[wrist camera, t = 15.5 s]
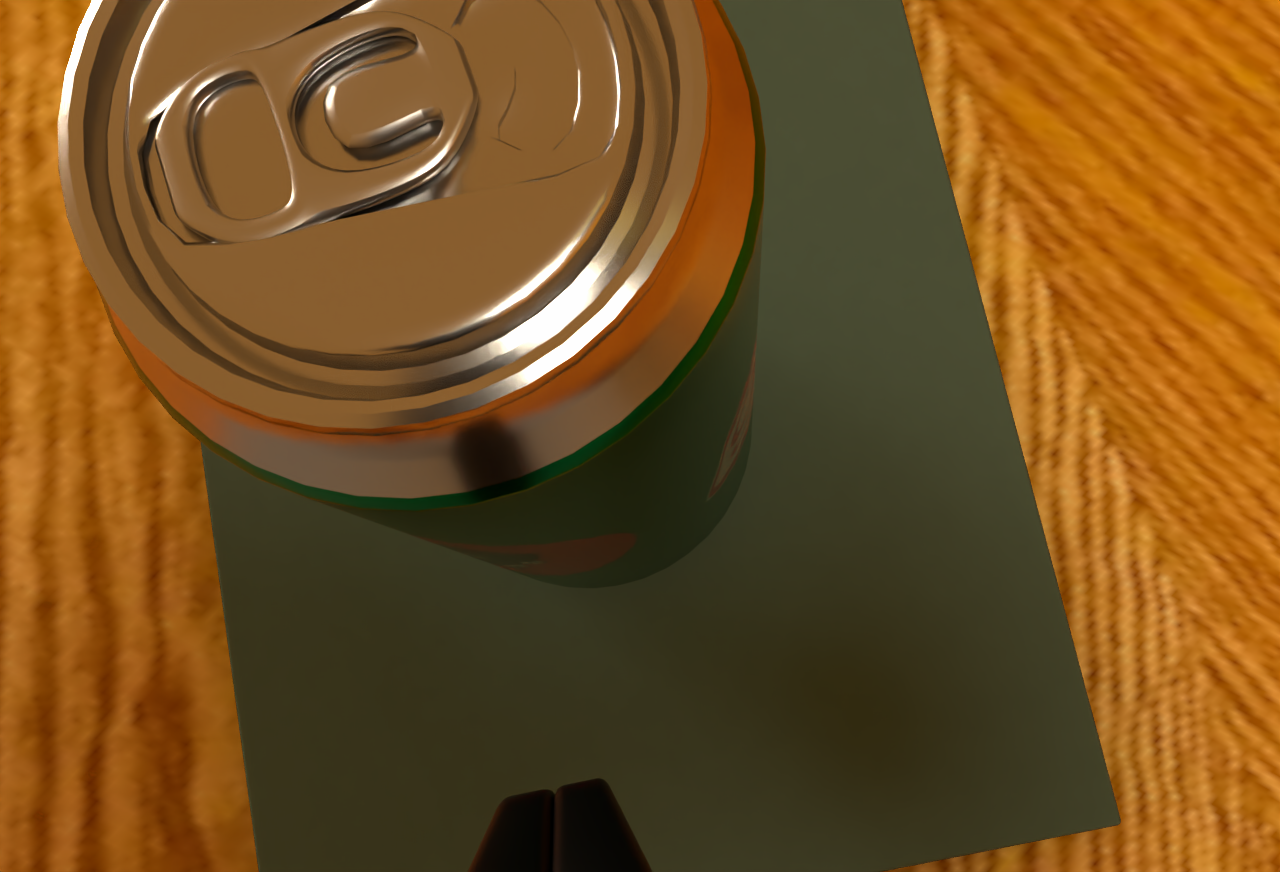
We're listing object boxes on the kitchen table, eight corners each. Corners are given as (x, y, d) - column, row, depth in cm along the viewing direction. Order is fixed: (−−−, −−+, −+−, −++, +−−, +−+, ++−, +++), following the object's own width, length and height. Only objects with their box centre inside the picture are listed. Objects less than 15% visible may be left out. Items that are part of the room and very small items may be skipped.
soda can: (798, 526, 19) (892, 322, 7) (495, 635, 19) (105, 609, 7) (688, 238, 20) (614, -354, 8) (400, 343, 20) (-78, -94, 8)
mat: (1112, 820, 18) (1123, 824, 18) (285, 983, 19) (273, 992, 18) (791, -392, 23) (791, -415, 22) (119, -228, 23) (106, -247, 23)
